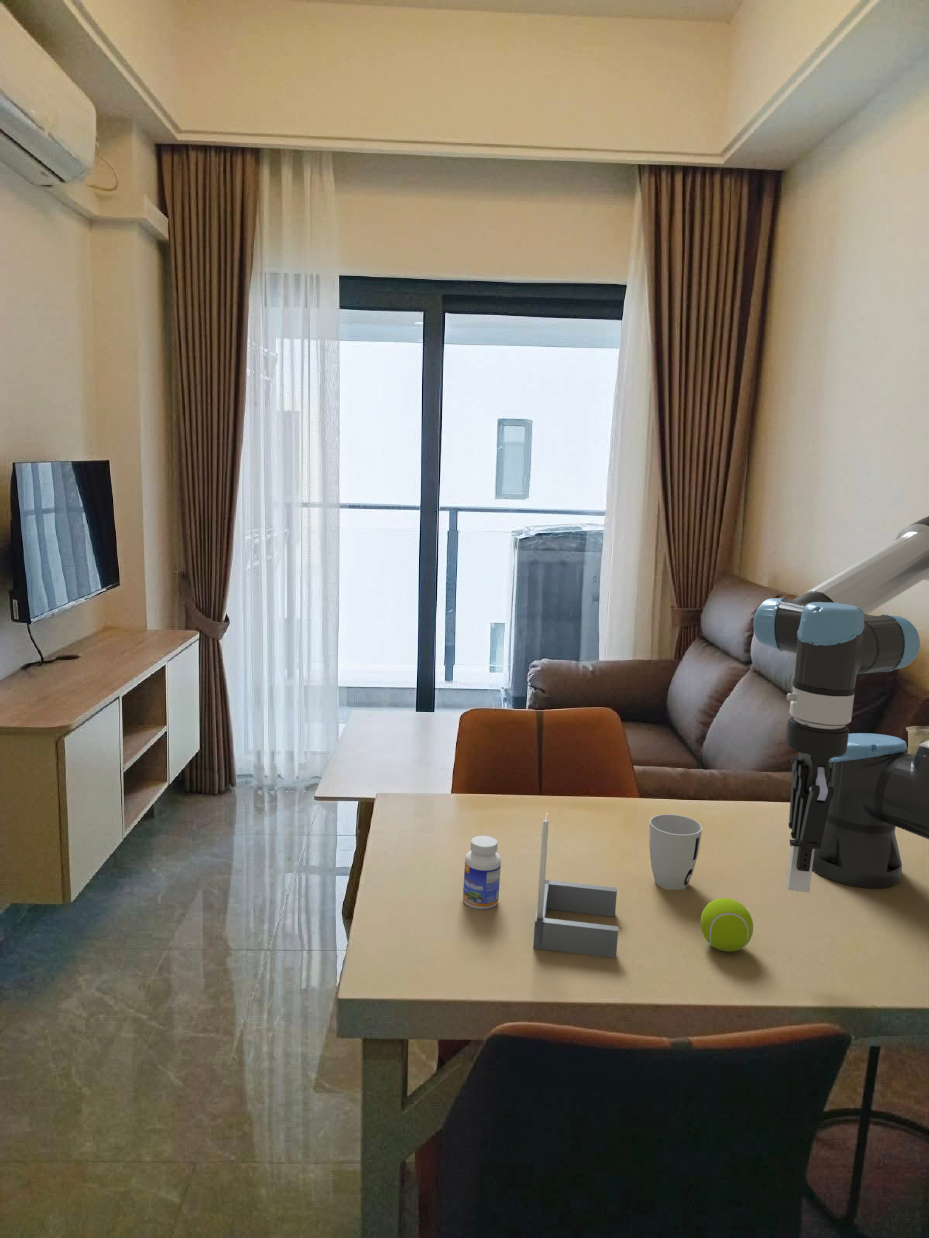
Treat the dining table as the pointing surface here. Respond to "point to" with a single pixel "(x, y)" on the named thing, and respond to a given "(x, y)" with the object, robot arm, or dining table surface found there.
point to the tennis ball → (726, 924)
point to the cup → (673, 849)
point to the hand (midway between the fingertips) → (797, 888)
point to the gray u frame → (573, 900)
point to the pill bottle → (482, 873)
